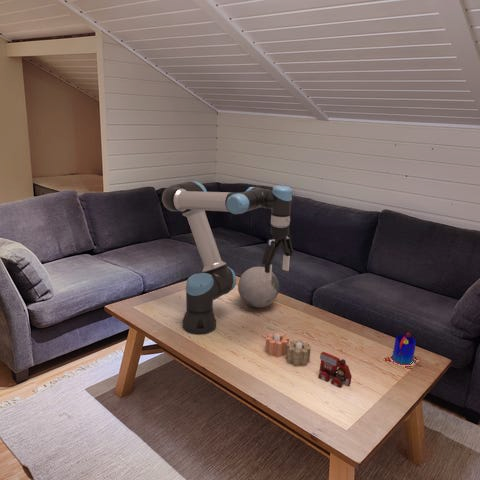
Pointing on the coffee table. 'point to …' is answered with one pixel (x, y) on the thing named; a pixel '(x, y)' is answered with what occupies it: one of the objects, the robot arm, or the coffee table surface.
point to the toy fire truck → (334, 370)
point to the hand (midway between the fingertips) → (276, 274)
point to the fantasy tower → (403, 350)
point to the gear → (298, 353)
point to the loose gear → (276, 345)
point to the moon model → (258, 287)
